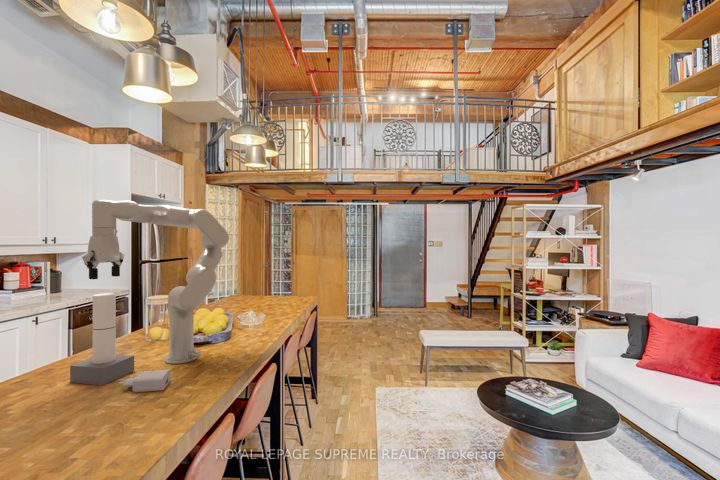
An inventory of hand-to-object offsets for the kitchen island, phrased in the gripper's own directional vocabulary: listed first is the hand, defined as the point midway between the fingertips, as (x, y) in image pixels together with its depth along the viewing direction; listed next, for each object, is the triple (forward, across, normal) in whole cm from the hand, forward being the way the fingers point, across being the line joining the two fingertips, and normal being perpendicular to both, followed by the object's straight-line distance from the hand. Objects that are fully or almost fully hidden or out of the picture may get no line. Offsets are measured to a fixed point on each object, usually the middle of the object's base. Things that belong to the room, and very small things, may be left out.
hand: (104, 277), depth 137 cm
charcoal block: (+38, +1, 0) cm, 38 cm away
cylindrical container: (+32, 0, 0) cm, 32 cm away
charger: (+38, +7, +22) cm, 45 cm away
